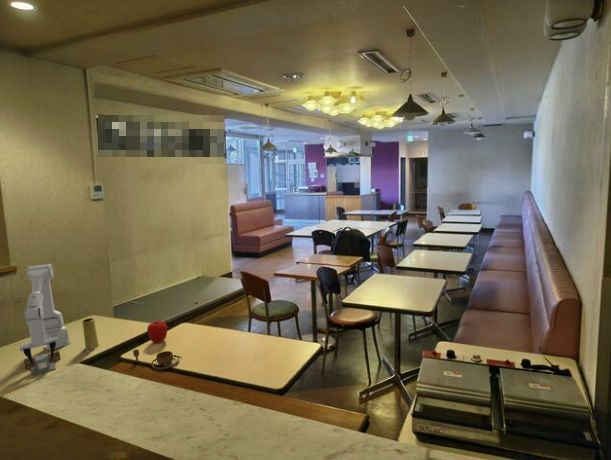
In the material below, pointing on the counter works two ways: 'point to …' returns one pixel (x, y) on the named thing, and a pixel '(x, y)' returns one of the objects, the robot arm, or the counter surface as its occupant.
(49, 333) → the robot arm
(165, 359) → the place setting
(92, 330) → the vase
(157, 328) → the apple
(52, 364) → the mat
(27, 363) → the walnut screen
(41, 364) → the slate cube
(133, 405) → the counter surface
